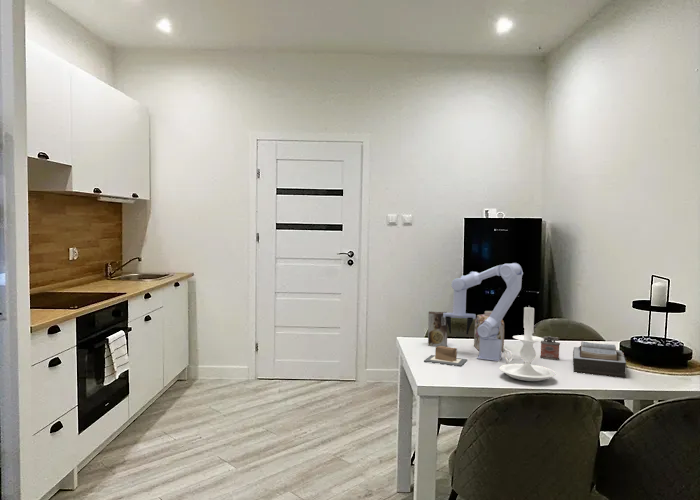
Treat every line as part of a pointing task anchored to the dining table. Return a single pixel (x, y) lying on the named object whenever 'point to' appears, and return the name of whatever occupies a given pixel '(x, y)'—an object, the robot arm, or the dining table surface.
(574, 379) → the dining table surface
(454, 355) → the card box
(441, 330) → the coffee box
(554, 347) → the lighter
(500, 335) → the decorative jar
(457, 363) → the picture frame
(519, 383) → the dining table surface
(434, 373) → the dining table surface
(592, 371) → the bible
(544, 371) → the candlestick
